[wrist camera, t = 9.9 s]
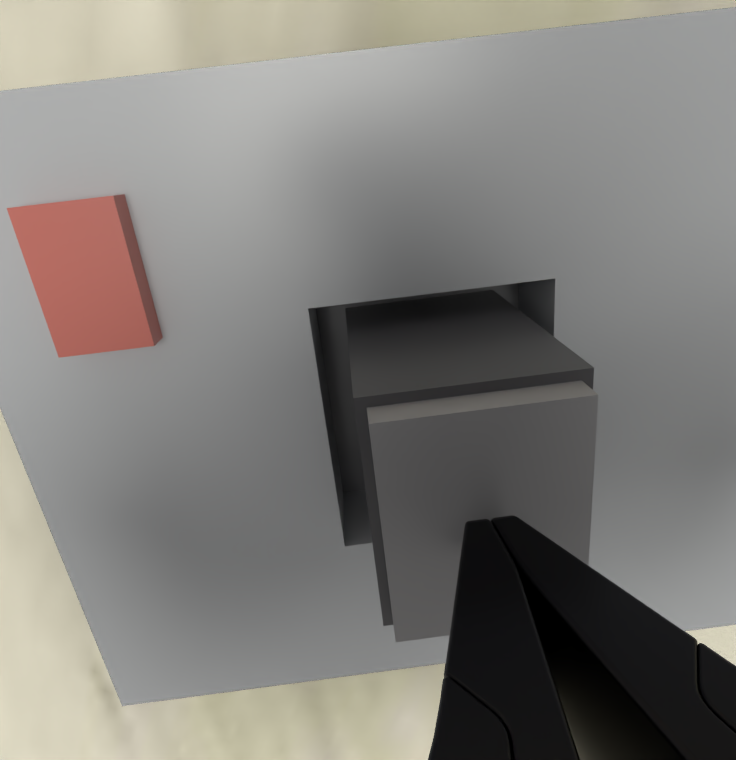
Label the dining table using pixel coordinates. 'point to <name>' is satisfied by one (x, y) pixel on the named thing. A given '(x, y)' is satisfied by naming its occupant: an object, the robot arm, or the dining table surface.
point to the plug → (464, 440)
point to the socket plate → (329, 327)
